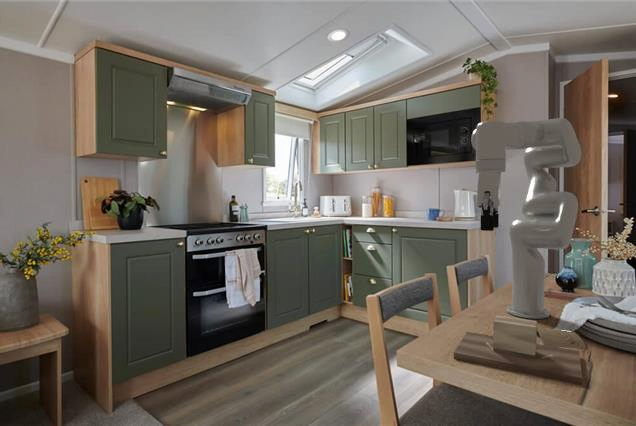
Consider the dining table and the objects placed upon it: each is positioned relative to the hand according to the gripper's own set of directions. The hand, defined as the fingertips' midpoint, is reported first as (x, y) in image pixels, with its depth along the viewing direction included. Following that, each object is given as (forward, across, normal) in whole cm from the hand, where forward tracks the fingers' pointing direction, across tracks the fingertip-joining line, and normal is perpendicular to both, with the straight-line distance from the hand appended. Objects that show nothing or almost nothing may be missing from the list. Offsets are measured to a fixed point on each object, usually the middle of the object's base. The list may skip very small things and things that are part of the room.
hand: (489, 228), depth 107 cm
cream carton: (+29, +12, +8) cm, 32 cm away
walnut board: (+30, +12, +8) cm, 33 cm away
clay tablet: (+31, -7, +16) cm, 36 cm away
